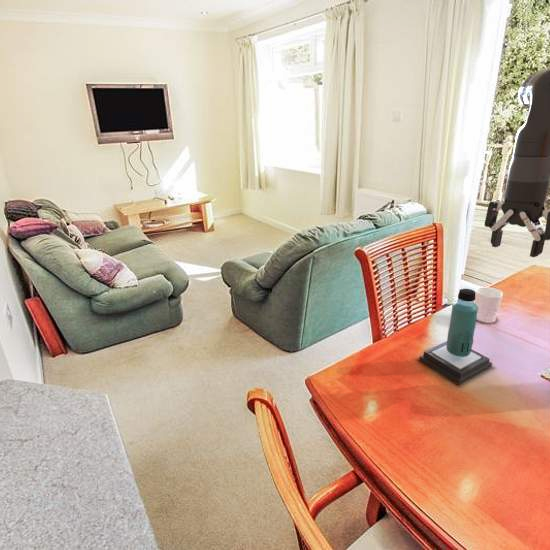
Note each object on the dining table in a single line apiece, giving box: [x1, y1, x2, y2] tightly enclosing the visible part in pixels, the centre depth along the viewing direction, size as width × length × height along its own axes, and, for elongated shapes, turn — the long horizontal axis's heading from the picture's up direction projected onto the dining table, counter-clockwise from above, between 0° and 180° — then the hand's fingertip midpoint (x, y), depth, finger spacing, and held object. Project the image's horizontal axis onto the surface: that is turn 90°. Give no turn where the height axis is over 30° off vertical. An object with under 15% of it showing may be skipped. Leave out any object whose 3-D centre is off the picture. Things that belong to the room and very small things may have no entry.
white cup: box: [474, 286, 504, 324], centre depth 127 cm, size 8×8×10 cm
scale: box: [418, 340, 493, 386], centre depth 106 cm, size 14×13×3 cm
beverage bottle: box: [446, 288, 478, 357], centre depth 101 cm, size 6×7×20 cm
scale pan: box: [431, 345, 482, 370], centre depth 106 cm, size 9×9×2 cm
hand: (514, 251), depth 84 cm, fingers open, 8 cm apart
